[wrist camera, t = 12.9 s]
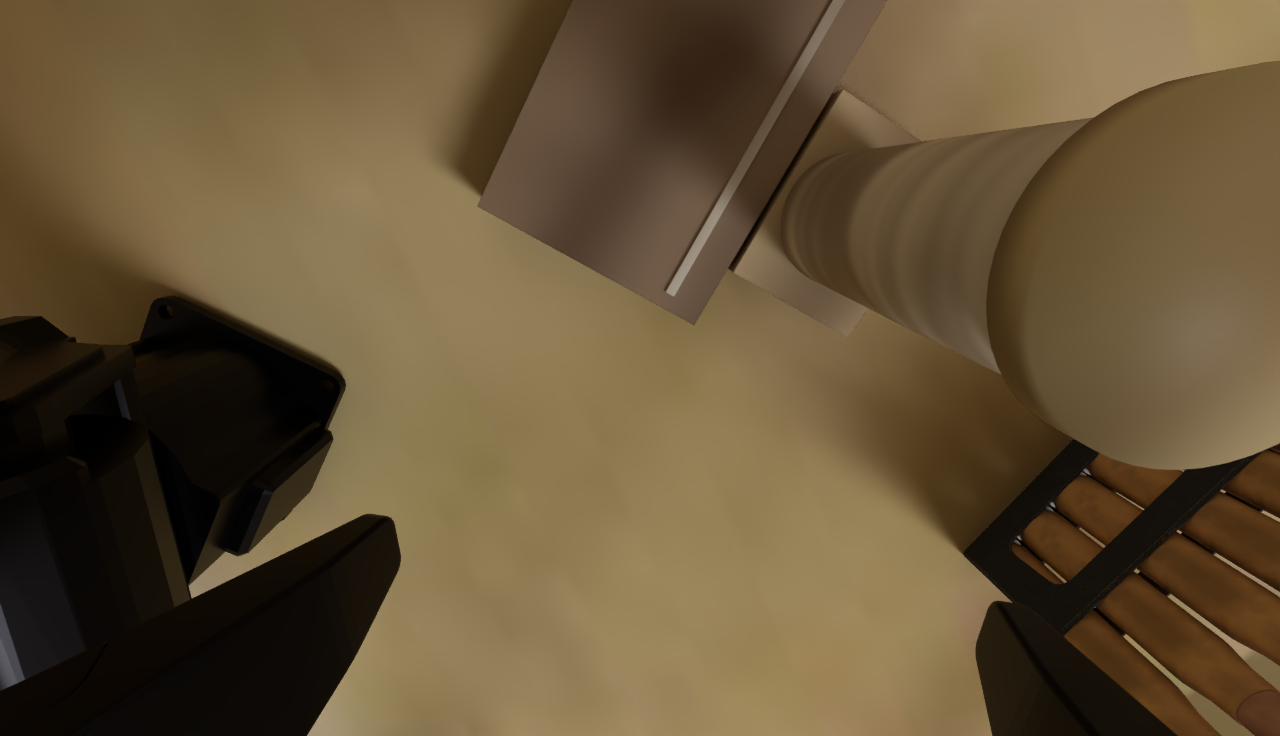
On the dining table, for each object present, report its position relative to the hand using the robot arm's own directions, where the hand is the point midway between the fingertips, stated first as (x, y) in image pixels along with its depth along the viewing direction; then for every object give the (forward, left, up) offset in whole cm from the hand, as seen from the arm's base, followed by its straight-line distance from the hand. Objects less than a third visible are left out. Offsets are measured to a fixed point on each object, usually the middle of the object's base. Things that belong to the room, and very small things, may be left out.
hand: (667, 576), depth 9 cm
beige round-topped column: (+3, +7, -12) cm, 15 cm away
